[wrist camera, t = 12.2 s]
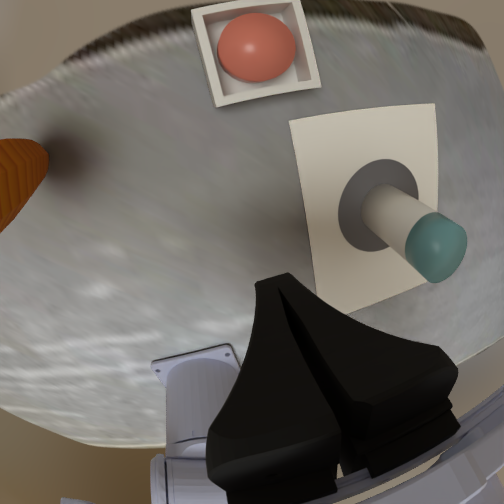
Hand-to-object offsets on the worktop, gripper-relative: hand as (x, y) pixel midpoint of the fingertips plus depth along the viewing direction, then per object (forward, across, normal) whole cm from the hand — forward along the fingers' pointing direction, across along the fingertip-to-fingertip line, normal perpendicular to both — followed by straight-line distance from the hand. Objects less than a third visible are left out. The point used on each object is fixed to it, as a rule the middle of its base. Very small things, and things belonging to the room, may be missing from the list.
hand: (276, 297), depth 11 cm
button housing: (+10, -3, -10) cm, 15 cm away
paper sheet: (+10, -11, +4) cm, 16 cm away
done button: (+10, -3, -10) cm, 14 cm away
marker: (+10, -11, +3) cm, 15 cm away
